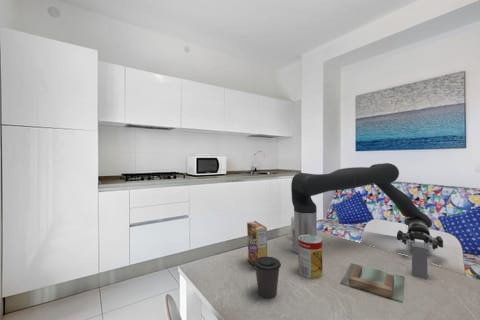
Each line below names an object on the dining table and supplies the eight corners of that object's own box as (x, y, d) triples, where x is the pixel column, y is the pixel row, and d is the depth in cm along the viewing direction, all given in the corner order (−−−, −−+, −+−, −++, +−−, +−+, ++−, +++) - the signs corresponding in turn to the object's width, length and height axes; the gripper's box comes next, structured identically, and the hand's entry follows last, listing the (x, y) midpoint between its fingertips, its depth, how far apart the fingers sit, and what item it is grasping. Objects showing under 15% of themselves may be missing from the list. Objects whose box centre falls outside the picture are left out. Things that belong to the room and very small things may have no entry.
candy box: (247, 261, 88) (246, 222, 88) (256, 259, 90) (256, 220, 90) (257, 271, 80) (257, 228, 80) (268, 269, 82) (267, 226, 81)
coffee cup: (274, 305, 62) (274, 268, 62) (248, 296, 66) (248, 261, 66) (285, 290, 69) (285, 257, 68) (261, 282, 73) (260, 251, 73)
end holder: (340, 283, 72) (340, 275, 72) (351, 264, 85) (351, 257, 85) (402, 302, 62) (402, 293, 62) (404, 277, 75) (404, 270, 75)
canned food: (326, 272, 79) (325, 238, 79) (316, 281, 73) (316, 244, 73) (305, 265, 84) (304, 233, 84) (294, 273, 79) (294, 238, 78)
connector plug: (411, 275, 76) (411, 241, 76) (412, 270, 79) (411, 237, 79) (427, 279, 74) (427, 243, 73) (426, 274, 77) (426, 240, 77)
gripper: (398, 221, 102) (396, 230, 89) (440, 226, 94) (444, 238, 81) (398, 237, 102) (396, 249, 90) (440, 244, 94) (444, 259, 81)
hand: (419, 244), depth 85 cm, fingers open, 8 cm apart
